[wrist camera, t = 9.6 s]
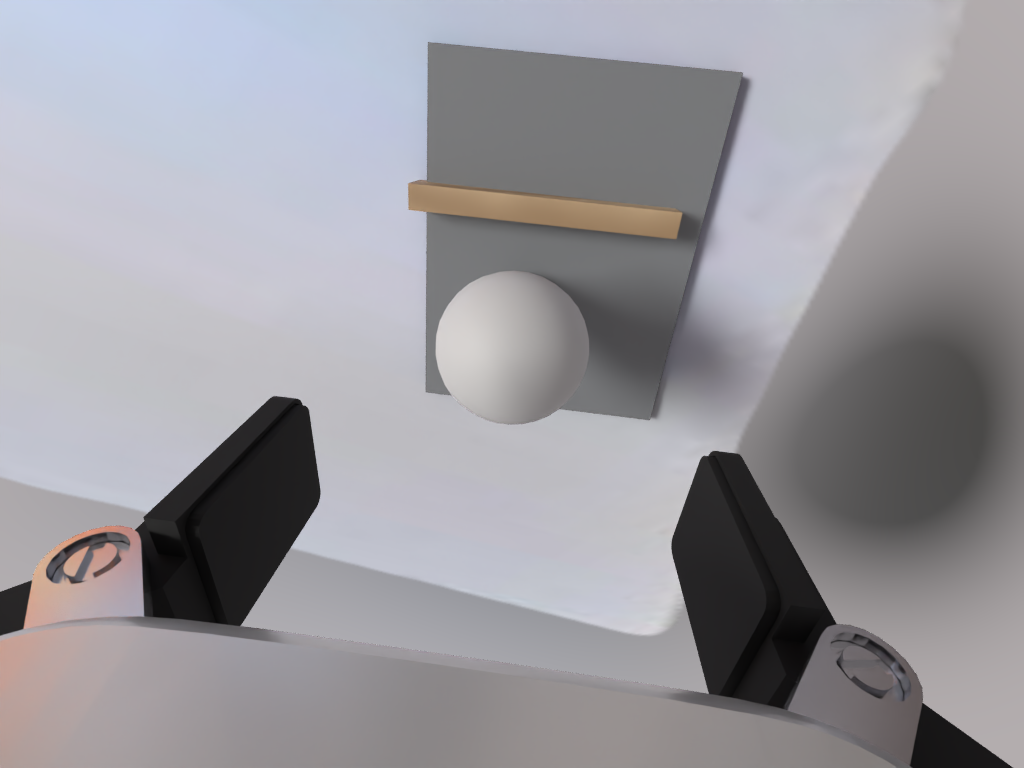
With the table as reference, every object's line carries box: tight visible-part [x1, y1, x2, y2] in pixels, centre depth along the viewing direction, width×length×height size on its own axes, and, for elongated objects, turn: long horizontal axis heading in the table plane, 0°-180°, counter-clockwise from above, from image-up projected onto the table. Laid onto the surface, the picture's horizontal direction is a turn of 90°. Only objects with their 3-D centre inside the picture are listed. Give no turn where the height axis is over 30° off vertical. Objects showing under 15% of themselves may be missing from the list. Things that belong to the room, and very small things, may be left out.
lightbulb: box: [436, 271, 589, 424], centre depth 21 cm, size 6×6×11 cm
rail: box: [408, 180, 682, 239], centre depth 23 cm, size 1×13×2 cm, turn 85°
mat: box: [426, 42, 743, 420], centre depth 25 cm, size 18×14×1 cm
